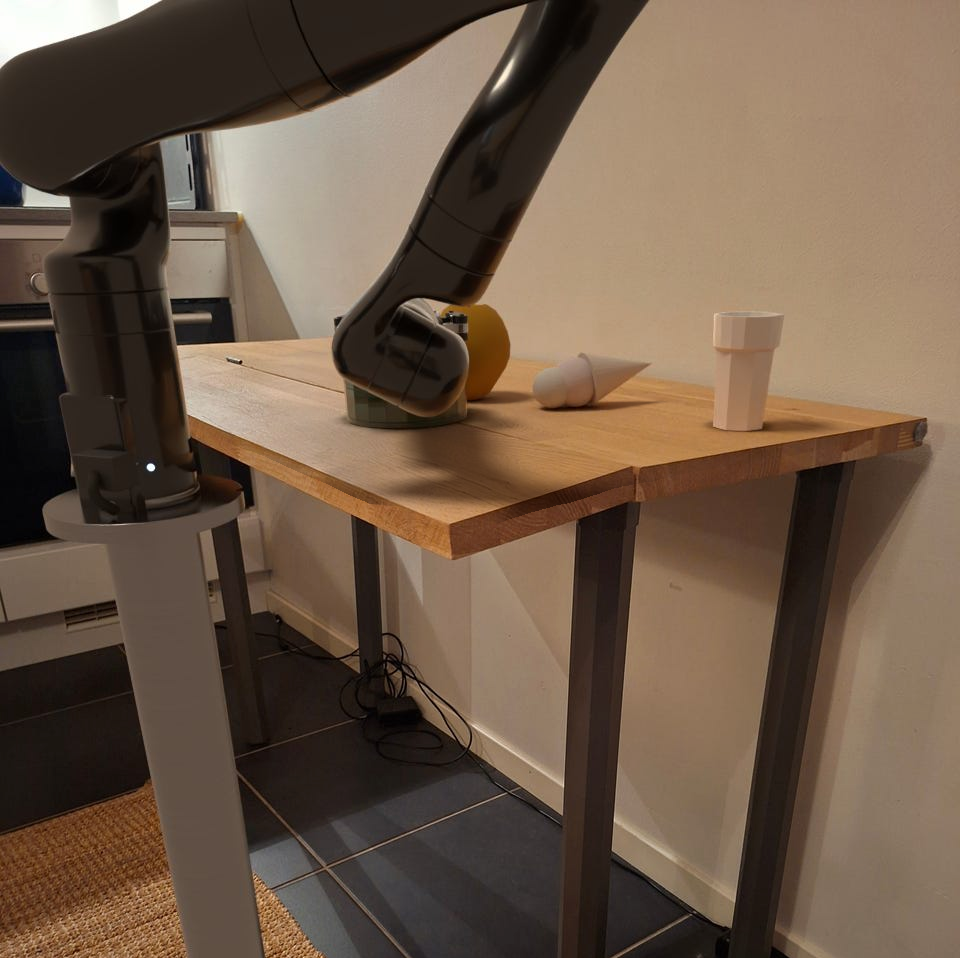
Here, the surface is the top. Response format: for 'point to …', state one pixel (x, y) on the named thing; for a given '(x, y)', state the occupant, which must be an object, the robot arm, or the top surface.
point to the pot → (395, 411)
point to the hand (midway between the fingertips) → (401, 321)
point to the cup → (743, 367)
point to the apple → (483, 347)
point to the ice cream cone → (583, 380)
